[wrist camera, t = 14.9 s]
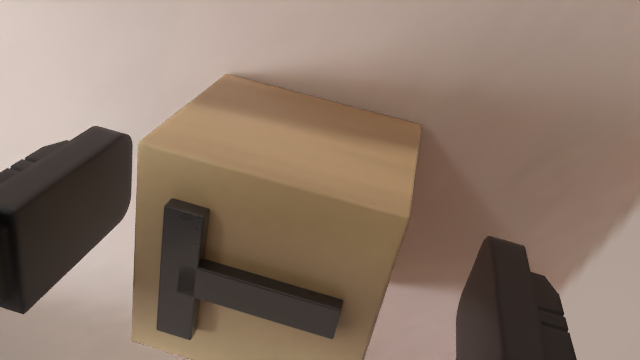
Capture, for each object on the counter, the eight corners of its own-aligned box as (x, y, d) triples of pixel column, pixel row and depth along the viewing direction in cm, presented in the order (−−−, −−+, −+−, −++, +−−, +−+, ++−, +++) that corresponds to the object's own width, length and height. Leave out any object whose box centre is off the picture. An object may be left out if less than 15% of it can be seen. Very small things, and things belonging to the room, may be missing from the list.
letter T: (225, 72, 12) (127, 148, 9) (422, 124, 12) (408, 227, 8) (207, 235, 14) (122, 353, 11) (373, 283, 14) (344, 423, 10)
